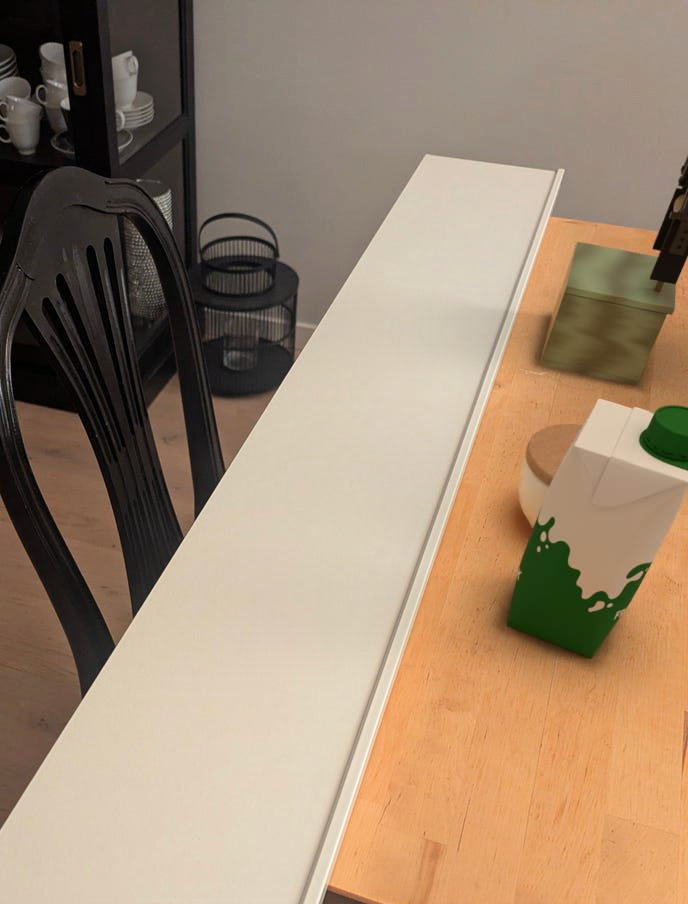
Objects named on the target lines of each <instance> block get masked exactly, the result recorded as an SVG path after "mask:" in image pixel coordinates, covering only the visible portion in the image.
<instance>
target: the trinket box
mask: <svg viewBox="0 0 688 904" xmlns="http://www.w3.org/2000/svg"><path fill="white" fill-rule="evenodd" d="M582 426H583V424H578V423H561V424H553V425H549V426H546V427H544V428H542V429H540V430H538V431H536V433H534V434H533V435H532V436H531V437H530V439H529V440H528V443H527V445H526V449H525V456H524V459H523V462H522V465H521V468H520V473H519V479H518V486H517V488H518V489H517V491H518V493H517V494H518V500H519V504H520V507H521V510H522V512H523V514H524V516H525V517H526V519H527V520H528V523H529V526H530V527H531V529H532V530H533V527H534V525H535V522H536V520H537V517H538V515H539V512H540V509H541V507H542V504H543V502H544V499H545V497H546V494H547V492H548V489H549V487H550V484H551V482H552V480H553V478H554V476H555V474H556V472H557V470H558V468H559V466H560V464H561V462H562V460H563V458H564V457H565V455H566V453H567V451H568V449H569V448H570V446H571V444H572V443H573V441H574V439H575V438H576V436H577V434H578V433H579V431H580V429H581V428H582Z"/></svg>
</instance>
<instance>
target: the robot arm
mask: <svg viewBox="0 0 688 904" xmlns="http://www.w3.org/2000/svg"><path fill="white" fill-rule="evenodd" d="M677 182H678V184H677V186H678V187H676V188H675V190H674V193H673V195H672V197H671V200H670V203H669V205H668V207H667V209H666V213H665V215H664V217H663V219H662V222H661V225H660V228H659V230H658V233H657V236H656V237H655V240H654V242H653V245H652V250H653V251H658V252H659V253H658V256H657V257H658V258H657V261H656V263H655V266H654V268H653V271H652V273H651V275H650V279H651V280H656V281H661V282H666V283H671V284H676V285H677V283H678V280H679V278H680V275H681V274H682V272H683V269H684V266H685V264H686V262H687V260H688V155H686V158H685V161H684V163H683V165H681V168H680V177H679V178H678V181H677ZM683 194H685V197H684V199H683V202H682V205H681V208H680V210H678V212H673V209H674V202H675V200H676V199H677V198H678V197H679V196H680V195H683Z"/></svg>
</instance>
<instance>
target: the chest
mask: <svg viewBox="0 0 688 904" xmlns="http://www.w3.org/2000/svg"><path fill="white" fill-rule="evenodd" d="M574 250H575V248H574ZM574 250H573V252H572V255H571V258H570V261H569V264H568V267H567V270H566V273H565V276H564V279H563V282H562V285H561V288H560V290H559V294H558V297H557V299H556V303H555V305H554V307H553V312H552V314H551V318H550V321H549V325H548V329H547V333H546V337H545V341H544V346H543V349H542V353H541V358H540V361H539V365H541V366H543V367H548V368H553V369H557V370H562V371H567V372H570V373H574V374H579V375H584V376H589V377H593V378H598V379H603V380H606V381H611V382H615V383H619V384H620V383H621V384H624V385H629V386H633V387H637V385H638V383H639V380H640V378H641V376H642V373H643V371H644V369H645V367H646V364H647V362H648V360H649V358H650V355H651V353H652V350H653V348H654V346H655V343H656V342H657V339H658V336H659V335H660V332H661V330H662V329H663V325H664V323H665V321H666V318H667V316H668V314H665V313H660V312H655V311H650V310H645V309H640V308H635V307H630V306H626V305H621V304H616V303H611V302H606V301H601V300H596V299H592V298H587V297H582V296H577V295H572V294H567V293H564V292H565V287H566V283H567V279H568V275H569V271H570V267H571V262H572V258H573V254H574Z"/></svg>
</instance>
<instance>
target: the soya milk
mask: <svg viewBox="0 0 688 904" xmlns="http://www.w3.org/2000/svg"><path fill="white" fill-rule="evenodd" d="M582 425H583V426H582V428H581V429H580V431H579V433H578V434H577V436H576V438H575V439H574V441H573V443H572V444H571V446H570V448H569V449H568V451H567V453H566V455H565V457H564V458H563V460H562V462H561V464H560V466H559V468H558V470H557V472H556V474H555V476H554V478H553V480H552V482H551V484H550V487H549V489H548V492H547V494H546V497H545V499H544V502H543V504H542V507H541V509H540V512H539V515H538V517H537V520H536V522H535V525H534V527H533V529H532V530H531V533H530V535H529V538H528V540H527V542H526V546H525V548H524V551H523V553H522V557H521V559H520V563H519V565H518V569H517V574H516V579H515V582H514V583H515V584H514V589H513V593H512V598H511V601H510V602H511V604H510V607H509V612H508V617H507V622H506V626H507V627H510V628H512V629H515V630H516V631H517V630H518V631H520V632H523V633H525V634H528V635H530V636H532V637H535V638H537V639H540V640H542V641H545V642H548V643H550V644H553V645H555V646H557V647H561V648H563V649H566V650H568V651H570V652H572V653H576V654H578V655H580V656H583V657H586V658H588V659H592V658H593V656H594V655H595V654H596V652H597V651H598V649H599V648H600V647H601V645H602V644H603V642H604V641H605V640H606V638H607V637H608V636H609V634H610V633H611V632H612V630H613V629H614V627H615V626H616V624H617V623H618V622H619V620H620V619H621V617H622V616H623V614H624V613H625V612H626V610H627V609H628V607H629V605H630V604H631V602H632V600H633V599H634V597H635V595H636V593H637V592H638V590H639V588H640V586H641V585H642V582H643V581H644V579H645V578H646V575H647V573H648V571H649V569H650V567H651V565H652V564H653V562H654V560H655V559H656V556H657V555H658V552H659V551H660V549H661V547H662V545H663V543H664V541H665V540H666V537H667V536H668V534H669V532H670V530H671V528H672V526H673V524H674V522H675V520H676V518H677V516H678V513H679V511H680V510H681V509H680V508H681V506H682V503H683V501H684V499H685V496H686V494H687V491H688V407H687V406H684V405H675V404H674V405H673V404H672V405H671V404H669V405H664V406H660V407H658V408H657V409H656V410H655V411H654V412H651V411H650V410H648V409H644V408H641V407H637V406H633V408H632V407H629V406H626V405H624V404H623V405H622V404H619V403H616V402H614V401H613V402H612V401H610V400H606V399H603V398H598V399H597V400H596V403H595V404H594V406H593V408H592V409H591V411H590V412H589V414H588V416H587V418H585V421H584V423H583V424H582Z"/></svg>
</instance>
